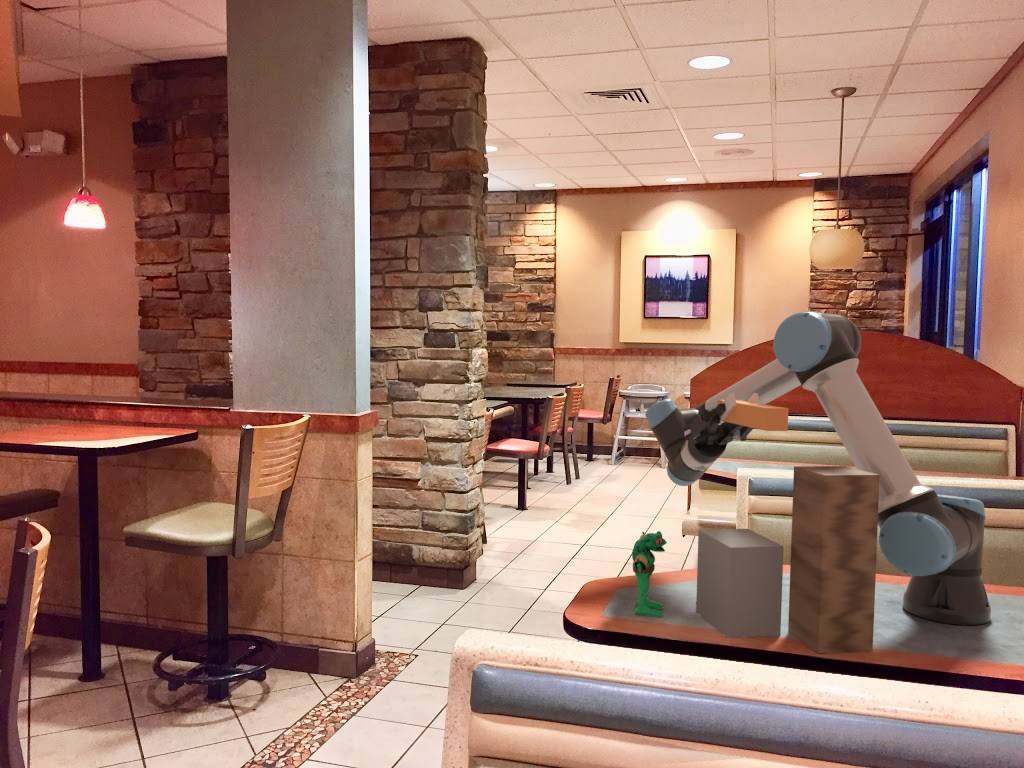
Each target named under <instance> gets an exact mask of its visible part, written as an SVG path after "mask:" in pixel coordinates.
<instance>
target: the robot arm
mask: <svg viewBox="0 0 1024 768" xmlns="http://www.w3.org/2000/svg"><path fill="white" fill-rule="evenodd" d="M772 344H773V352H774V355H775V357H776V358H775V359H774V360H772V361H771V362H769V363H767V364H766V365H764V366H763V367H761V368H758V369H757V370H756V371H754V372H753V373H751V374H749V375H747V376H746V377H743V378H742V379H741V380H739V381H736V382H735V383H734V384H732V385H731V386H729V387H727V388H726V389H723V390H721V391H720V392H718V393H717V394H715V395H713V396H711V397H710V398H708V399H707V400H706V401H705V400H704V401H703V402H702V403H700V404H699V405H697V406H695V407H692V408H691V407H690V408H678V405H677V404H676V403H675V401H674V400H672V399H671V398H665V399H662V400H659V401H657V402H655V403H653V404H652V405H651V406H649V407H648V408H647V409H646V411H645V413H644V415H645V419H646V421H647V423H648V425H649V428H650V430H651V432H652V433H653V434H654V437H655V439H656V440H657V442H658V444H659V446H660V447H661V449H662V451H663V452H664V455H665V457H666V459H667V461H668V462H667V465H666V466H667V467H666V472H667V476H668V478H669V480H670V481H671V482H673V484H675V485H678V486H680V487H687V486H691V485H693V484H695V483H696V482H697V481H698V480H701V478H702V477H703V475H704V474H705V473H706V471H708V469H709V468H710V467H711V466H712V465H713V464H714V463H715V462H716V461H717V460H718V459H719V458H720V457H721V456H722V455H723V454H724V452H725V451H726V449H727V446H728V444H729V443H731V442H733V440H734V439H738V440H740V441H741V442H745V441H746V440H747V436H748V435H749V434H751V432H753V430H754V428H751V427H747V426H743V425H738V424H734V423H729V422H725V421H721V420H725V419H726V418H727V416H728V415H729V414H730V413H731V412H732V411H733V410H734V408H735V407H736V406H737V404H736V400H739V401H746V402H752V403H758V404H764V405H768V403H770V402H772V401H774V400H776V399H778V398H780V397H781V396H783V395H785V394H787V393H789V392H791V391H792V390H794V389H796V388H798V387H799V386H801V387H802V388H803V389H804V390H805V391H806V390H807V391H810V392H813V394H814V395H816V398H817V399H818V401H819V402H820V405H821V406H822V408H823V410H824V412H825V413H826V416H827V418H829V421H830V422H831V424H832V426H833V428H834V430H835V432H836V433H837V436H838V437H839V439H840V441H841V442H842V444H843V446H844V448H845V450H846V452H847V454H848V455H849V458H850V459H851V461H852V463H853V464H854V466H855V469H859V470H863V471H866V472H870V473H874V474H878V475H880V480H879V505H878V528H879V529H880V530H879V536H878V543H879V548H880V551H881V553H882V555H883V557H884V558H885V559H886V560H887V562H888V563H889V564H890V565H891V566H892V567H894V568H895V569H897V570H898V571H899V572H901V573H905V574H907V575H910V579H909V582H908V584H907V587H906V590H905V592H904V593H903V598H902V600H903V601H902V607H903V609H904V610H905V611H906V612H908V613H910V614H912V615H914V616H915V617H916V616H917V617H920V618H922V619H926V620H930V621H932V622H933V621H934V622H938V623H943V624H951V625H959V626H960V625H961V626H962V625H963V626H973V625H975V626H976V625H983V624H987V623H989V622H991V614H992V613H991V612H992V607H991V604H990V603H989V598H988V594H987V590H986V588H985V584H984V581H983V576H982V575H983V559H984V558H983V557H984V556H983V555H984V540H985V539H984V538H985V521H986V518H987V516H986V513H985V505H984V503H983V501H981V500H980V499H976V498H971V497H964V496H963V497H962V496H955V495H950V494H949V495H947V494H939V493H938V494H937V492H936V491H935V489H934V488H933V487H930V486H927V485H924V484H922V483H921V482H920V481H919V478H918V477H917V475H916V474H915V472H914V470H913V468H912V467H911V465H910V463H909V461H908V459H907V457H906V456H905V455H904V452H903V450H902V449H901V447H900V446H899V444H898V442H897V441H896V438H895V437H894V435H893V433H892V432H891V430H890V429H889V427H888V424H887V423H886V421H885V420H884V418H883V416H882V414H881V412H880V411H879V410H878V408H877V406H876V404H875V402H874V401H873V399H872V397H871V395H870V394H869V392H868V390H867V388H866V387H865V385H864V383H863V381H862V379H861V378H860V376H859V374H858V373H857V371H858V370H857V369H858V368H859V363H860V360H859V358H858V355H859V353H860V351H861V346H862V336H861V333H860V330H859V329H858V326H857V325H856V324H855V323H854V321H852V320H851V319H850V318H848V317H846V316H844V315H841V314H836V313H825V312H824V313H822V312H817V311H813V310H807V311H802V312H796V313H793V314H790V315H789V316H788V317H786V318H785V319H783V320H782V322H781V323H780V324H779V325H778V327H777V329H776V331H775V334H774V337H773V343H772ZM718 400H724V402H723V403H720V404H718ZM720 418H721V420H720Z"/></svg>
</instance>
